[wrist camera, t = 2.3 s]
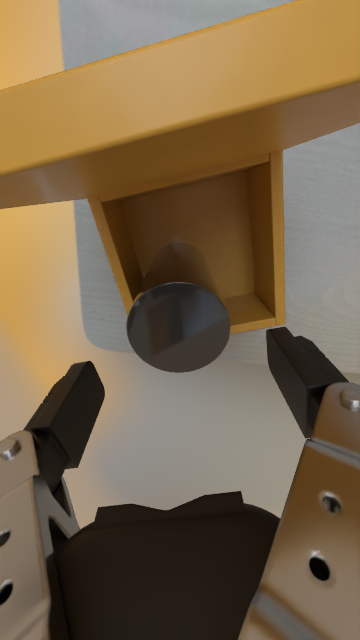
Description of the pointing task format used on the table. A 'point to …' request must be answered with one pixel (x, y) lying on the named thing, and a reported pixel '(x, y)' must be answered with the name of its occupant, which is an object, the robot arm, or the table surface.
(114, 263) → the chest
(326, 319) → the table surface
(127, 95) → the lid
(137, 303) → the dark grey cylinder
